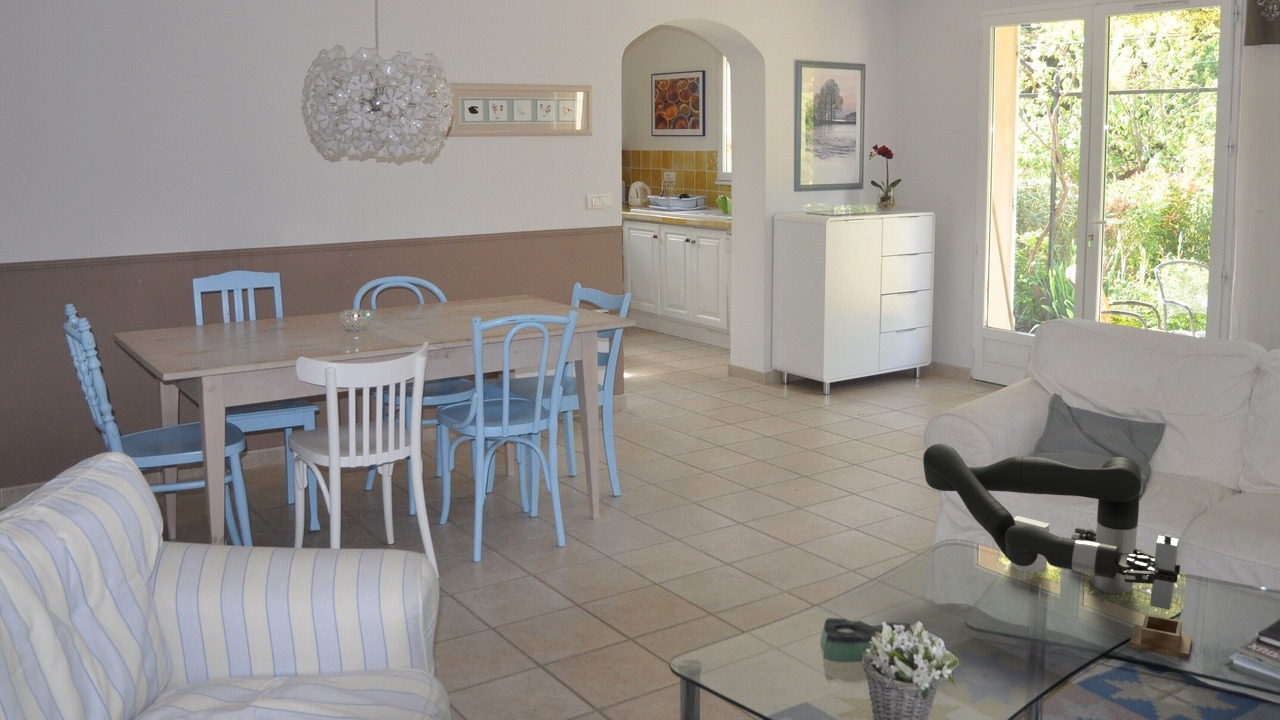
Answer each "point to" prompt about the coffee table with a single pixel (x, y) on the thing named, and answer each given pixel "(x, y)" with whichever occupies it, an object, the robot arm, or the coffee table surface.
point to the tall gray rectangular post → (1166, 562)
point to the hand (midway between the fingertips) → (1178, 573)
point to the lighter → (1088, 534)
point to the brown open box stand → (1161, 637)
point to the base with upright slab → (1041, 560)
